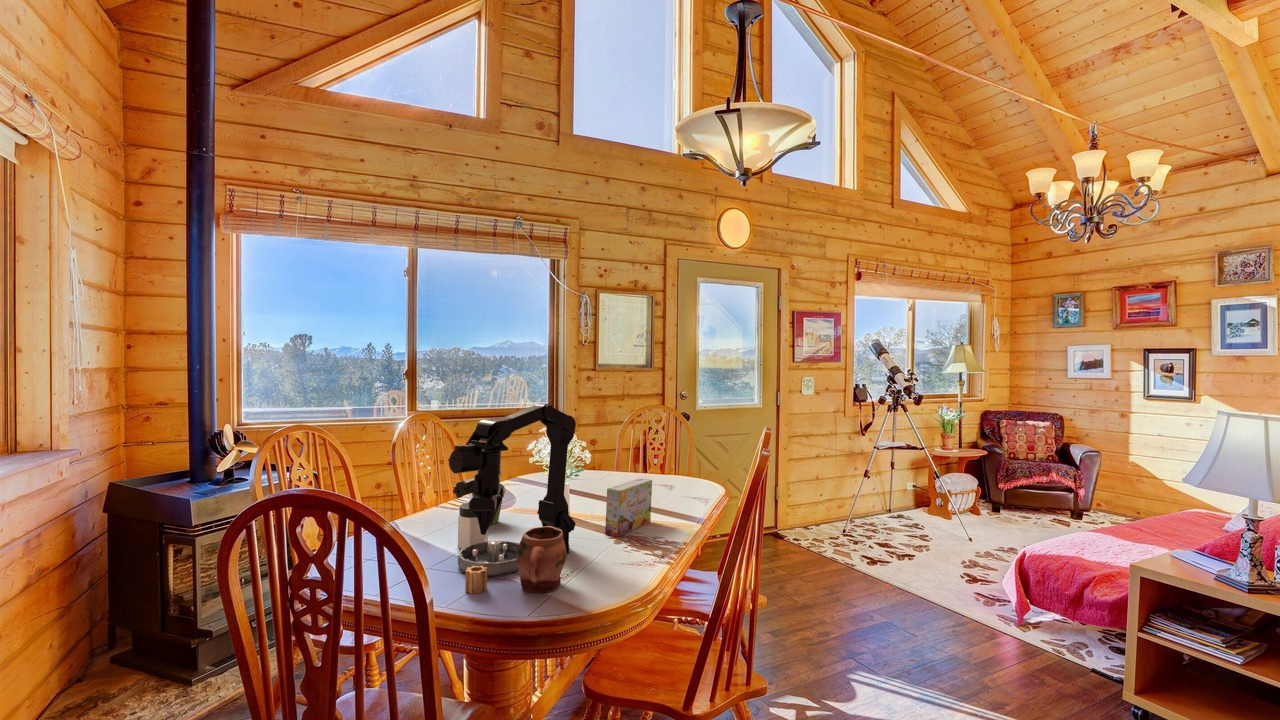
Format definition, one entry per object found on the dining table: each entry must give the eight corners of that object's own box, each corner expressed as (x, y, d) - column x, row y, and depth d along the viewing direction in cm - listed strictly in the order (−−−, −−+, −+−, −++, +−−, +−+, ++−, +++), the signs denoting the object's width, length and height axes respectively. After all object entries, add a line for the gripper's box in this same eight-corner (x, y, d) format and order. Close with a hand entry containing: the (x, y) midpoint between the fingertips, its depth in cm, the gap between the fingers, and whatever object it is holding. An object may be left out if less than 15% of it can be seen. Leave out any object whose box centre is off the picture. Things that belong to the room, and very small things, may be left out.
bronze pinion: (487, 585, 146) (488, 565, 146) (485, 593, 141) (485, 572, 141) (467, 585, 145) (467, 565, 145) (463, 594, 141) (464, 573, 141)
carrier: (529, 552, 170) (530, 532, 170) (524, 576, 153) (525, 553, 152) (465, 553, 168) (465, 532, 168) (452, 577, 150) (453, 554, 150)
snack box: (619, 538, 186) (620, 490, 186) (604, 535, 189) (605, 487, 189) (651, 522, 205) (652, 478, 204) (637, 519, 207) (638, 476, 207)
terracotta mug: (562, 606, 135) (563, 546, 135) (508, 606, 135) (509, 545, 134) (568, 574, 155) (570, 521, 155) (522, 573, 154) (523, 520, 154)
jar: (462, 552, 170) (462, 510, 169) (453, 544, 176) (454, 504, 176) (492, 547, 174) (493, 506, 174) (483, 539, 181) (484, 500, 181)
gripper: (464, 462, 162) (461, 519, 161) (448, 475, 143) (445, 539, 143) (505, 463, 163) (503, 520, 163) (495, 476, 144) (492, 540, 144)
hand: (486, 529), depth 153 cm, fingers open, 9 cm apart
